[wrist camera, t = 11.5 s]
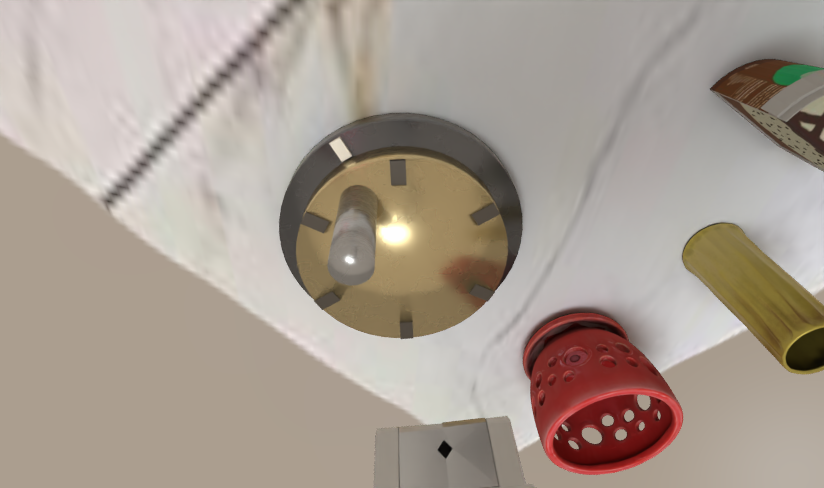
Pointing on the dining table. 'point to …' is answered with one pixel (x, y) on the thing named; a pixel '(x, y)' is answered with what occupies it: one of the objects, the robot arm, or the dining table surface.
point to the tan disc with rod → (401, 242)
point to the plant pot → (596, 395)
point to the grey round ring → (389, 134)
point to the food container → (780, 104)
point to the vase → (760, 296)
